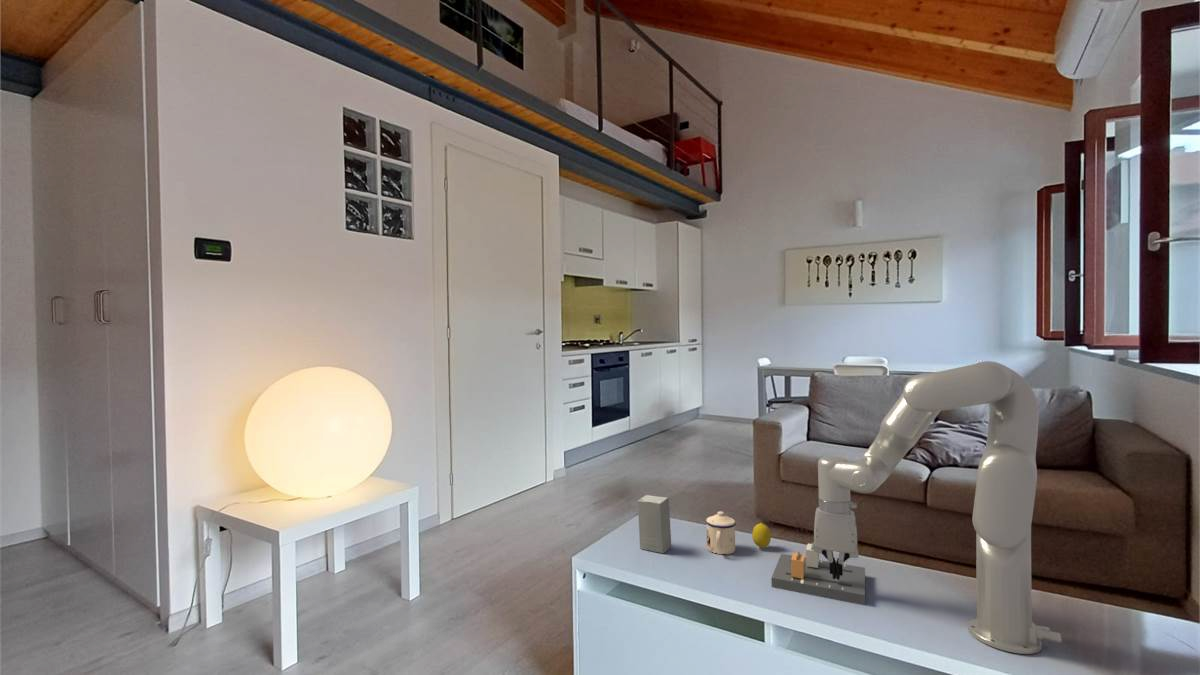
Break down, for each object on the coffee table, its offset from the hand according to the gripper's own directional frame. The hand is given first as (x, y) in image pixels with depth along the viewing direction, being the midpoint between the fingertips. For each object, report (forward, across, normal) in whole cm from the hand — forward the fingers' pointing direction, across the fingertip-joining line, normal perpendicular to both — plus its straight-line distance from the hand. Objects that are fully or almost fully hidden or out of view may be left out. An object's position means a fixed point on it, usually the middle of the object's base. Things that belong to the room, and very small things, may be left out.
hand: (836, 577), depth 137 cm
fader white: (+1, +6, -9) cm, 11 cm away
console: (+4, +4, -5) cm, 7 cm away
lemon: (+4, +22, -22) cm, 31 cm away
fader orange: (+1, +9, 0) cm, 9 cm away
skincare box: (+3, +52, -7) cm, 53 cm away
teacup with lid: (+4, +34, -14) cm, 36 cm away
